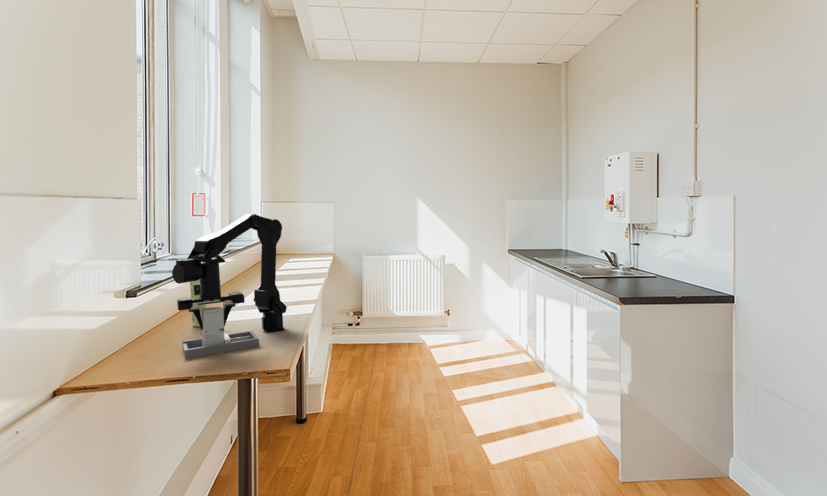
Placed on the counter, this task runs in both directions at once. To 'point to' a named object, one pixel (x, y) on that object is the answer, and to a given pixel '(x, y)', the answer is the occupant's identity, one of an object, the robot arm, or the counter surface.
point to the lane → (219, 345)
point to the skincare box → (212, 326)
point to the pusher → (227, 338)
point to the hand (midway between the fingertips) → (213, 327)
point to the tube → (194, 319)
